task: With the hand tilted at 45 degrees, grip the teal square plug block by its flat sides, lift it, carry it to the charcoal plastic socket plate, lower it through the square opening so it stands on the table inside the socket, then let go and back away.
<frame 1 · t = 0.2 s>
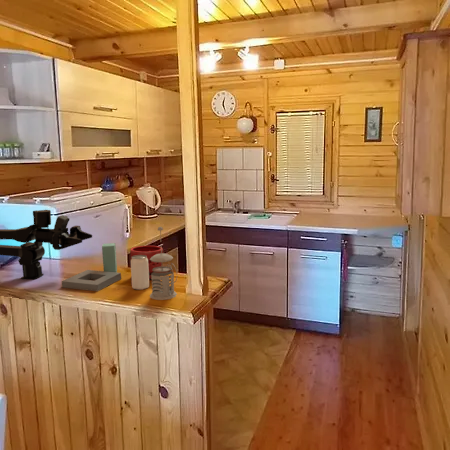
hand: (87, 238, 177), 17 cm above the counter, tool horizontal, fingers open, 9 cm apart
plug block: (110, 272, 189), on the counter
can: (140, 287, 168), on the counter
socket plate: (92, 282, 174), on the counter
plant pot: (147, 276, 182), on the counter
french press: (165, 296, 158), on the counter
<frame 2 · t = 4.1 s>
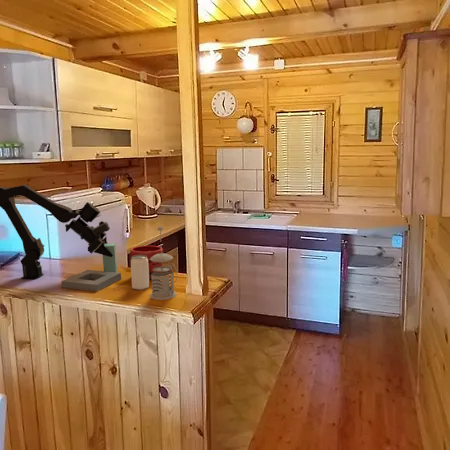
hand: (112, 254, 187), 8 cm above the counter, tool tilted 45°, fingers closed on plug block, 5 cm apart
plug block: (110, 272, 189), on the counter, touching gripper
everything else where it was.
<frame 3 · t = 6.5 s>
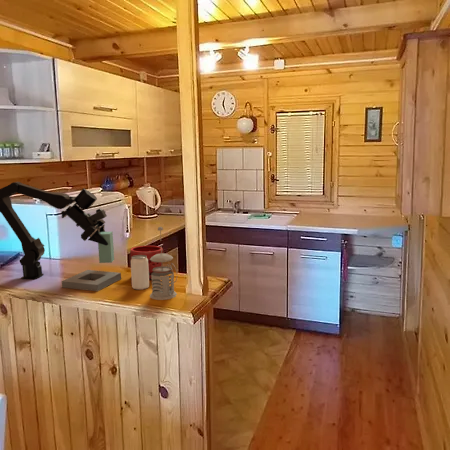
hand: (109, 243, 183), 13 cm above the counter, tool tilted 45°, fingers closed on plug block, 5 cm apart
plug block: (106, 261, 184), point 6 cm above the counter, touching gripper
everything else where it was.
when the fingers open (9 cm above the counter, at t = 9.3 s): plug block drops 1 cm, resting in socket plate.
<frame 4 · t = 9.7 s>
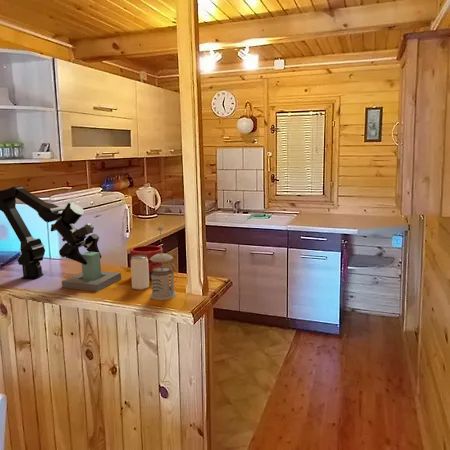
hand: (93, 261, 172), 9 cm above the counter, tool tilted 45°, fingers open, 9 cm apart
plug block: (92, 283, 174), resting in socket plate
everything else where it was.
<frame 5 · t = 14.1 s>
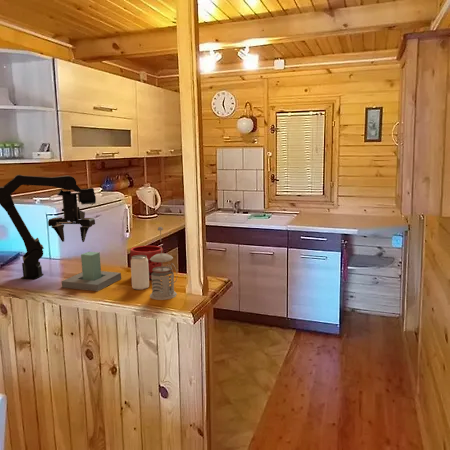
hand: (73, 241, 189), 13 cm above the counter, tool pointing down, fingers open, 9 cm apart
nothing on the counter moved.
at the end: plug block 0.0 cm off-centre on the socket plate, point 0.0 cm above the socket plate's base; plug block tilted 0°; the gripper is holding nothing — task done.
